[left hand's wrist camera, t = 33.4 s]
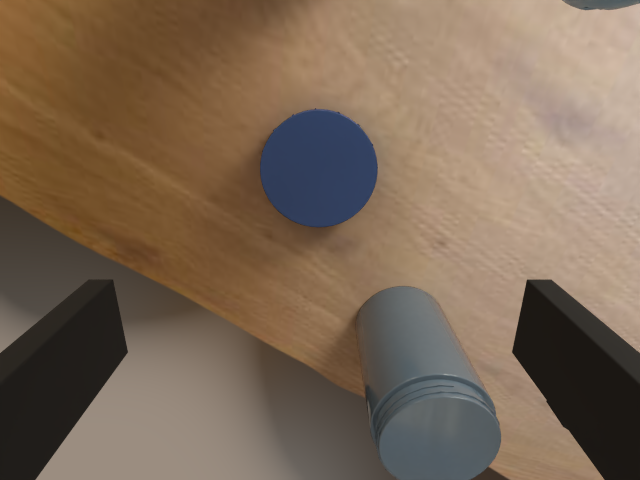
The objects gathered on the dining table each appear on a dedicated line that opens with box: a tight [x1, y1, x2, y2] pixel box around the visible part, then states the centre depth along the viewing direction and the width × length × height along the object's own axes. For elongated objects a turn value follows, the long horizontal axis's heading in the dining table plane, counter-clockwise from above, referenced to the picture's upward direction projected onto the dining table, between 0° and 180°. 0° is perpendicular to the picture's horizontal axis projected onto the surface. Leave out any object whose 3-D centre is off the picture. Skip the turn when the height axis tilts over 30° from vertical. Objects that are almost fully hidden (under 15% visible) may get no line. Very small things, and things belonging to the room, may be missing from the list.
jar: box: [356, 286, 501, 480], centre depth 37 cm, size 10×10×16 cm
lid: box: [260, 108, 378, 227], centre depth 37 cm, size 11×11×2 cm
